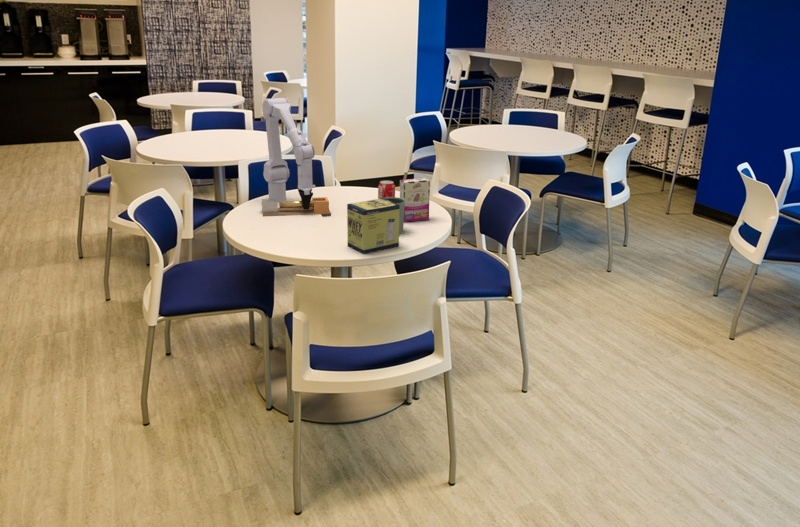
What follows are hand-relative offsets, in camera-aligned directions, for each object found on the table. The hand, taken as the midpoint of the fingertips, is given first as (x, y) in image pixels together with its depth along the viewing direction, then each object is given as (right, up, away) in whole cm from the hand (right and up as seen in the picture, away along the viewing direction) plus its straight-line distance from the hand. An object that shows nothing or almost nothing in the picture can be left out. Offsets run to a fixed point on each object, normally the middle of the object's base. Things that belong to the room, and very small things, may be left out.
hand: (305, 207), depth 277 cm
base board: (-4, -2, 0) cm, 5 cm away
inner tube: (-3, 0, 0) cm, 3 cm away
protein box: (+29, -17, -37) cm, 50 cm away
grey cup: (+35, -10, -20) cm, 41 cm away
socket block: (+6, -2, +2) cm, 6 cm away
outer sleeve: (-14, -2, -3) cm, 15 cm away
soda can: (+33, 0, +8) cm, 34 cm away
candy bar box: (+44, -5, -5) cm, 45 cm away
